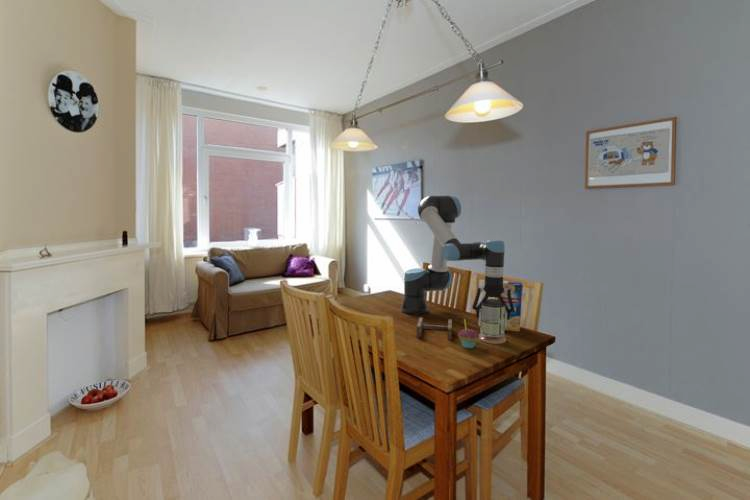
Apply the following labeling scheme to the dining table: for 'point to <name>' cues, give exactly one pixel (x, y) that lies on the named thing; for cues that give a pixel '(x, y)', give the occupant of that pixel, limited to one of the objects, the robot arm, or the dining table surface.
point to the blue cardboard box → (516, 296)
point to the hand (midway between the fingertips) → (492, 325)
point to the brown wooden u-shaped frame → (434, 327)
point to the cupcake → (468, 337)
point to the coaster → (492, 339)
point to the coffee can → (492, 318)
